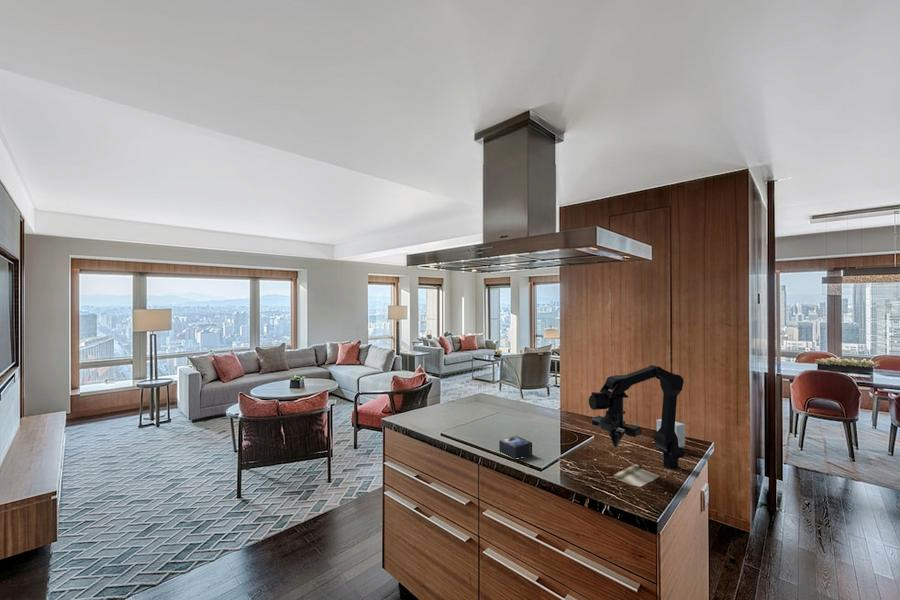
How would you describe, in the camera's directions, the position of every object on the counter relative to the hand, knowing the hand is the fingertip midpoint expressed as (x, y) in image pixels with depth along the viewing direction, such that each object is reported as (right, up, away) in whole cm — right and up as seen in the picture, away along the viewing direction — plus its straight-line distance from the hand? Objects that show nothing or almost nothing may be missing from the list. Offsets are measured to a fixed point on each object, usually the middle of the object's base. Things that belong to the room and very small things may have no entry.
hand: (615, 446), depth 152 cm
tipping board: (+5, -9, -7) cm, 13 cm away
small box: (-34, -6, +18) cm, 38 cm away
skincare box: (+38, -9, +27) cm, 48 cm away
